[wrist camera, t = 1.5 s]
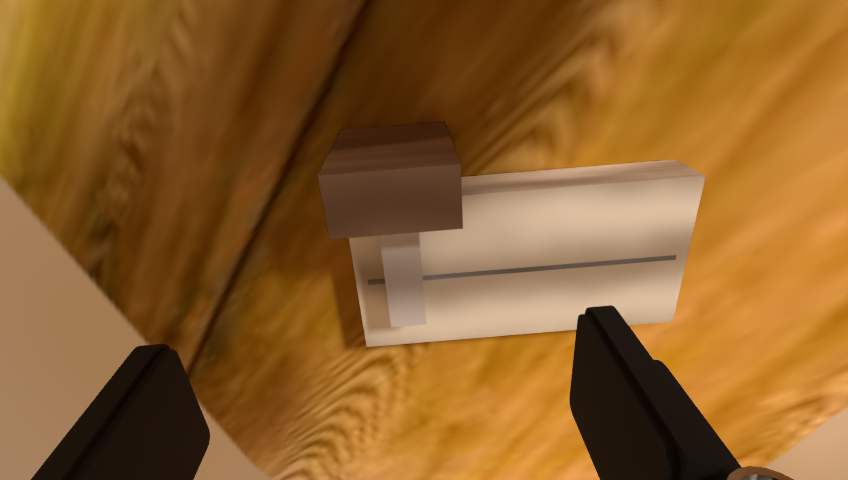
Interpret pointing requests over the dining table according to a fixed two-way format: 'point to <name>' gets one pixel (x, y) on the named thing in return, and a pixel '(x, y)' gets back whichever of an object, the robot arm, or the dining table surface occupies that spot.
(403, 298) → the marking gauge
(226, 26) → the dining table surface
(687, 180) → the birch plank
